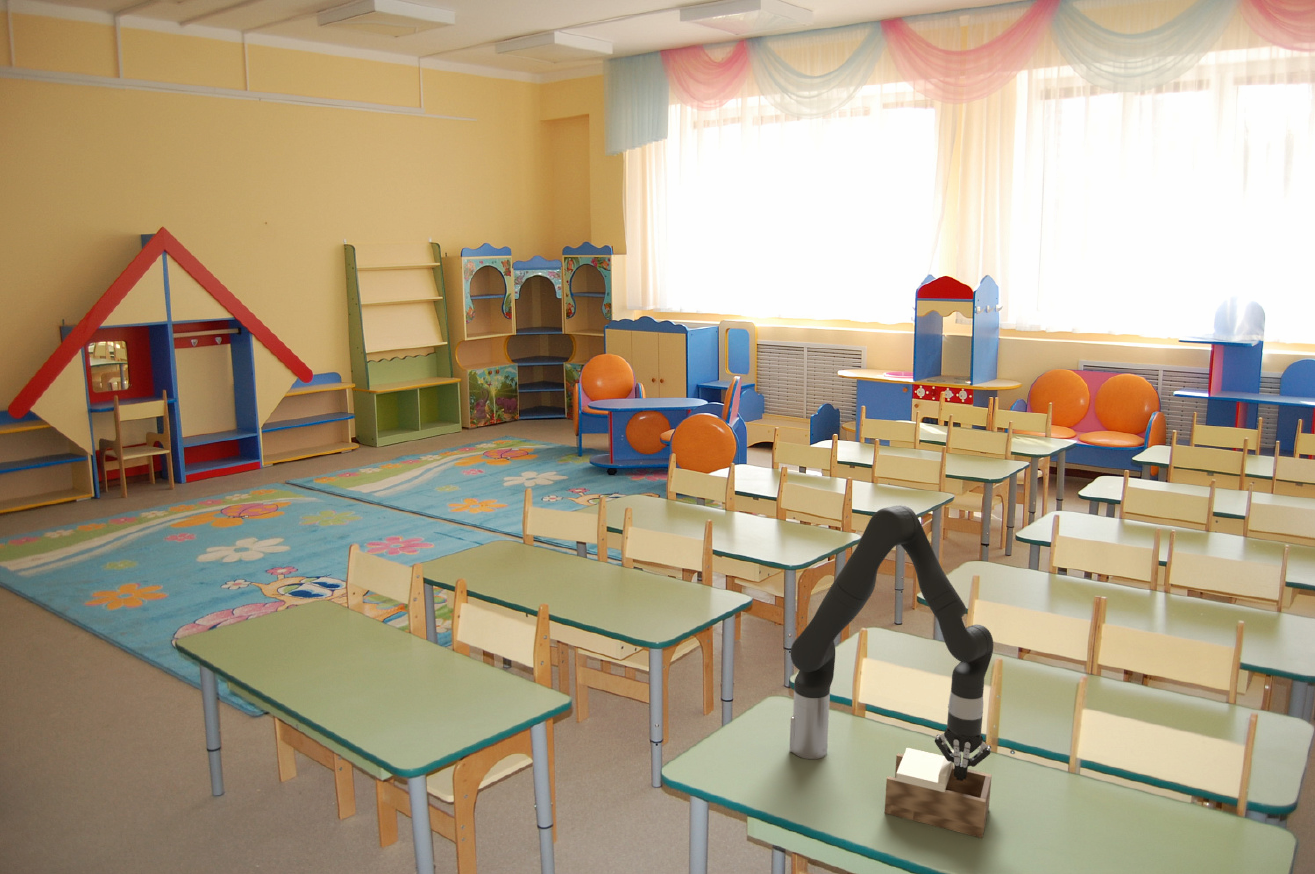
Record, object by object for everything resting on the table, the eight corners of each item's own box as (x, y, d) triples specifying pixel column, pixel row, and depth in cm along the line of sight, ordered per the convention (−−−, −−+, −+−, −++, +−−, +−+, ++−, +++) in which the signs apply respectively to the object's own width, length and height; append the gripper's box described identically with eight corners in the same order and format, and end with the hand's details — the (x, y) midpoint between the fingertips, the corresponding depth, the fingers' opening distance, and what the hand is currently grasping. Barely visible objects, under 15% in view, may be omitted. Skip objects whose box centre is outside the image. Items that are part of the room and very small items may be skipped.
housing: (884, 813, 225) (886, 778, 223) (895, 786, 236) (897, 753, 234) (982, 837, 216) (985, 802, 214) (988, 808, 227) (991, 774, 225)
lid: (895, 780, 223) (896, 765, 222) (906, 755, 234) (907, 740, 233) (944, 792, 218) (945, 776, 217) (952, 765, 229) (954, 750, 228)
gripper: (997, 709, 219) (991, 777, 223) (938, 697, 225) (933, 764, 228) (994, 724, 213) (987, 794, 216) (933, 711, 218) (928, 780, 222)
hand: (960, 778), depth 222 cm, fingers closed
